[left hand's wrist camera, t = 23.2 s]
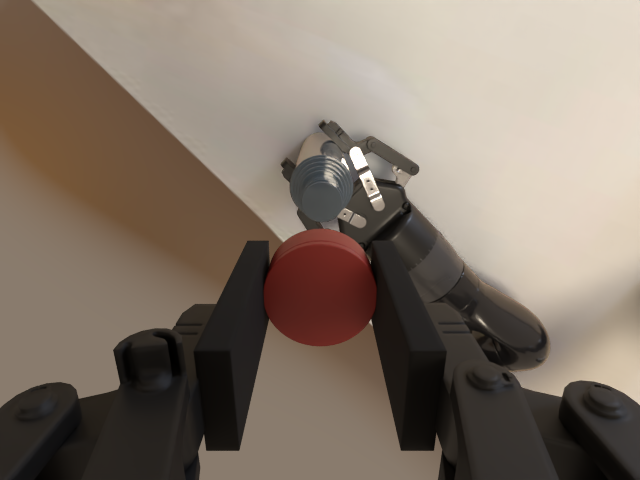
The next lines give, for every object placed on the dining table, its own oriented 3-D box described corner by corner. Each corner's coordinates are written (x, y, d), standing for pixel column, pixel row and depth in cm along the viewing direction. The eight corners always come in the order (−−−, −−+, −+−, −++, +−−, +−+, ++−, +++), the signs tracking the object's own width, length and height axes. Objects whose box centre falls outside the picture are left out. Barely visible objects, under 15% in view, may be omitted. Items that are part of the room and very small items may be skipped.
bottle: (310, 178, 48) (303, 247, 26) (294, 142, 46) (272, 183, 25) (347, 163, 47) (369, 220, 26) (331, 125, 46) (342, 152, 24)
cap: (368, 322, 15) (374, 347, 14) (270, 320, 15) (264, 345, 14) (375, 228, 14) (381, 245, 12) (267, 226, 14) (260, 243, 12)
